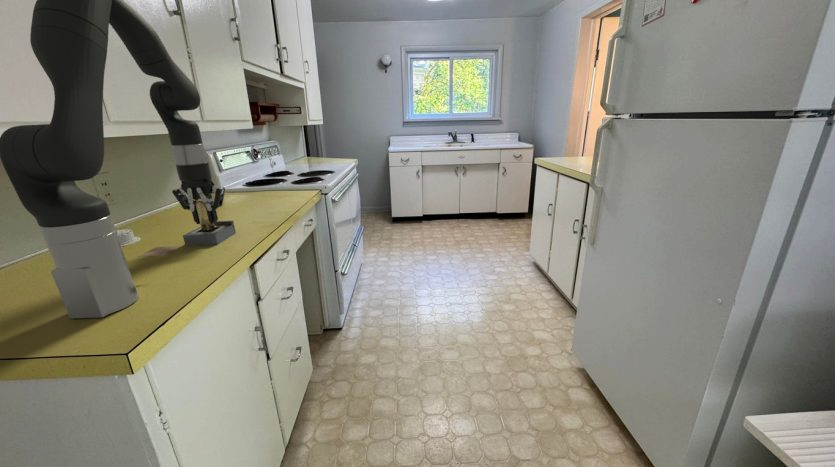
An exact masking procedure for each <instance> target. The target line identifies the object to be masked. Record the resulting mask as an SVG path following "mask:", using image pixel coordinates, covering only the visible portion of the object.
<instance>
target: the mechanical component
mask: <svg viewBox="0 0 835 467" xmlns="http://www.w3.org/2000/svg"><path fill="white" fill-rule="evenodd" d="M116 232H117V235H118V238H119V241H120V244H121V247H123V248H124V247H126V246H129V245H133V244H135V243H138V242H139V241H141V237H139V236H135V235H134V231H133V230H132V229H126V228H125V229H117V230H116Z"/></svg>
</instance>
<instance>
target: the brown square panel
mask: <svg viewBox="0 0 835 467" xmlns="http://www.w3.org/2000/svg"><path fill="white" fill-rule="evenodd" d="M181 247H182V245H172V246H171V245H169V246H167V245H166V246H156V247H154V248H151V249H150V250H148V251H146V252H143V253H142V254H139V255H137V257H139V258H141V257H143V258H144V257H164V256H166V255H168V254H170V253H172V252H174V251H175V250H179V248H181Z"/></svg>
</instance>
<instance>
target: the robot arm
mask: <svg viewBox="0 0 835 467" xmlns="http://www.w3.org/2000/svg"><path fill="white" fill-rule="evenodd" d="M109 25H110V26H111V28H112V29H113V30H114V32H115V33H116V34H117V36H118V37H119V39H120V40H121V41H122V44H123V45H124V46H125V48H126V50H127V51H128V52H129V54H130V56H131V57H132V58H133V60H134V62H135V63H136V64H137V66H138V68H139V69H140V70H141V72H142V73H143V74H145V75H147V76H150V77H153V78H158V79H160V81H155V82H153V83H152V84H151V85H150V87H149V97H150V101H151V103H152V105H153V107H154V109H155V110H156V111H157V114H158V115H159V117H160V119H161V120H162V122H163V124H164V126H165V128H166V130H167V132H168V133H167V134H168V137H169V142H170V145H171V148H172V150H171V151H172V152H171V153H172V157H173V161H174V163H175V168H176V171H177V176H178V180H179V181H180V182H181V184H180V187H179V188H176V189H172V190H171V191H172V192H171V193H172V194H173V196H174V197H175V199H176V200H177V201H178V203H179V205H180V206H181V207H182V209H183V210H185V211H186V210H187V211H190V212H191V215H192V217H193V221H194V223H196V225H200V221H199V217H198V214H197V210H196V206H195V202H196V201H199V200H202V201H203V203H204V204H205V205H206V207H207V209H208V211H207V212H208V216H209V220H210V223H211V224H214V223H216V222H217V221H219V217H218V213H217V212H218V211H217V209H218V208H220V207H221V208H222V207H223V202H224V197H225V192H226V187H224V186H218V185H215V183H214V182H213V180H212V172H211V168H210V163H209V160H208V155H207V151H206V149H205V146H204V144H203V138H202V134H201V129H200V126H199V124H198V123H197V122H196V121H192V120H188V119H184V118H183V117H182V116H181V114H180V113H179V112H180V111H181V112H182V111H183V112H184V111H195V110H196V109H198V108H199V107H200V105H201V95H200V93H199V90H198V88H197V87H196V85H195V84H194V83H193V81H192V80H191V79H190V78H189V77H188V76H187V75H186V74H185V72H184V71H183V70H182V69H181V68H180V66H178V65H177V64H176V62H175V61H174V60H173V59H172V57H171V56H170V53H169V52H168V50H167V48H166V47H165V44H164V43H163V41H162V39H161V38H160V35H159V34H158V33H157V30H155V29H154V27H153V26H152V25H151V24H150V23H149V22H148V21H147V20H146V19H145V18H144V17H143V16H142V15H141V14H139V12H138V11H136V10H135V9H134V8H133V7H131V5H129V4H128V3H127V2H126V1H125V0H36V1H35V3H34V7H33V12H32V17H31V26H30V45H31V48H32V51H33V54H34V56H35V57H36V60H37V61H38V63H39V65H40V66H41V67H42V69H43V71H44V73H45V74H46V75H47V77H48V78H49V81H50V83H51V85H52V88H53V93H54V104H53V112H52V117H51V120H50V123H47V124H46V123H45V124H24V125H16V126H15V125H14V126H13V127H9V128H8V129H6V130H4V131H3V132H2V134H1V135H0V160H1V164H2V166H3V168H4V171H5V172H6V175H7V177H8V179H9V181H10V182H11V185H12V187H13V189H14V191H15V192H16V194H17V197H18V199H19V200H20V202H21V203H20V204H22V205H23V206H22V207H24V209H25V210H26V212H28V213H29V214H30V215H31V216H32V217H34V219H35V220H36V223H37V224H38V227H39V230H40V232H41V234H42V236H43V239H44V242H45V244H46V246H47V249H48V251H49V255H50V256H51V259H52V261H53V263H54V266H55V268H54V269H51V271H50V274H51V276H52V278H53V280H54V283H55V286H56V287H57V290H58V292H59V293H58V294H59V296H60V298H61V299H62V302H63V305H64V306H65V309H66V311H67V314H68V316H69V319H92V318H93V319H96V318H97V319H99V318H100V319H101V318H104V317H107V316H109V315H110V314H112V313H115V312H118V311H121V310H123V309H125V308H127V307H129V306H131V305H132V304H134V303H135V302H137V300H138V299H139V294H138V291H137V288H136V286H135V282H134V280H133V277H132V273H131V271H130V268H129V264H128V261H127V258H126V257H125V253H124V250H123V248H122V247H121V244H120V241H119V238H118V235H117V232H116V227H115V223H114V221H113V218H112V215H111V211H110V208H109V206H108V204H107V202H106V200H104V199H103V198H101V197H98V196H94V195H93V194H90V193H87V192H85V191H84V190H82V189H81V188H80V187H79V186H78V185H77V183H76V182H77V181H86V180H87V181H88V180H90V179H93V178H94V177H95V176H97V175H98V174H99V172H100V171H101V169H102V167H103V164H104V159H105V136H104V118H103V117H104V113H103V102H104V100H103V99H104V85H105V84H104V83H105V82H104V80H105V70H106V62H107V58H108V57H107V55H108V44H109ZM161 80H162V81H161ZM213 195H214V196H213Z"/></svg>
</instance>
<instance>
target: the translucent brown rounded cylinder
mask: <svg viewBox="0 0 835 467" xmlns="http://www.w3.org/2000/svg"><path fill="white" fill-rule="evenodd" d="M195 206H196V210H197V214H198V217H199V221H200V224H199V225H200V227H201V229H202V230H210V229H214V228H215V224H211V223H210V220H209V216H208V212H207V211H208V209H207V207H206V205H205V204H204V203H203V201H202V199H200V200H199V201H196V202H195Z"/></svg>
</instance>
